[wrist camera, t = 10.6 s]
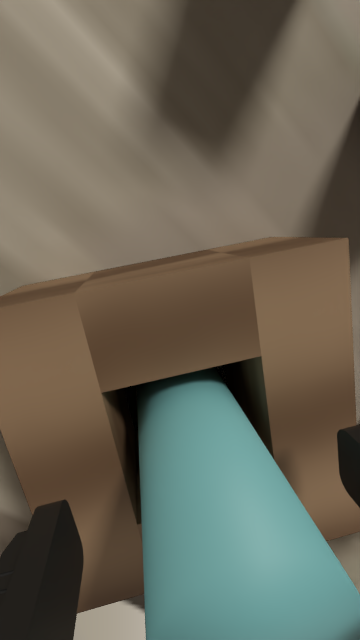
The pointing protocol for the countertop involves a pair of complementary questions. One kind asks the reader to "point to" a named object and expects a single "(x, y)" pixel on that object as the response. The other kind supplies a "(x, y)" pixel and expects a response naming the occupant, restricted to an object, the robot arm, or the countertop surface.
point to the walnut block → (171, 360)
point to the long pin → (228, 527)
